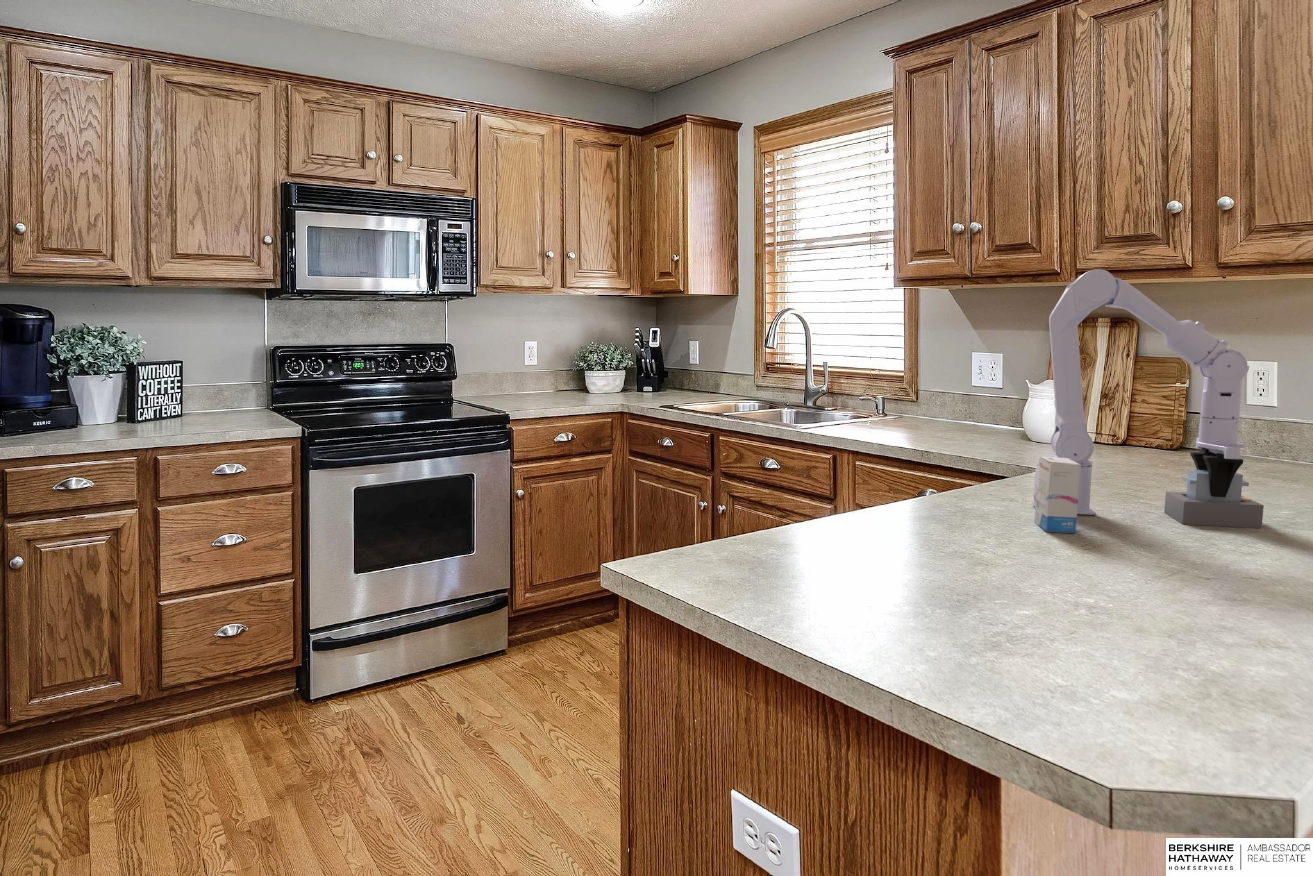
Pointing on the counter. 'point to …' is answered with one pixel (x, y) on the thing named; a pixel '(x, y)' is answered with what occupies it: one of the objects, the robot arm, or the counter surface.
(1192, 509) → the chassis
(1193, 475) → the servo
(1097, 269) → the robot arm
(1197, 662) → the counter surface
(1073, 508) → the ink box
